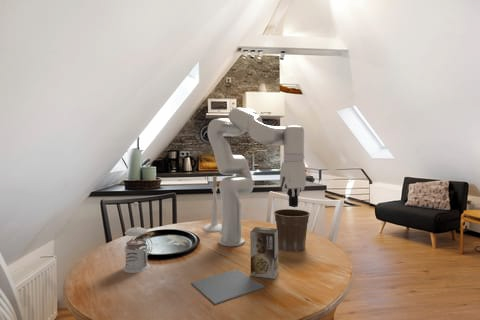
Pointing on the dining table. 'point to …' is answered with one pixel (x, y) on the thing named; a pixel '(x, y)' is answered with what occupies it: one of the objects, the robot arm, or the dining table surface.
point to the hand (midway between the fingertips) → (293, 206)
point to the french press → (136, 251)
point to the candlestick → (214, 211)
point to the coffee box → (264, 252)
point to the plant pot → (291, 229)
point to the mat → (226, 286)
